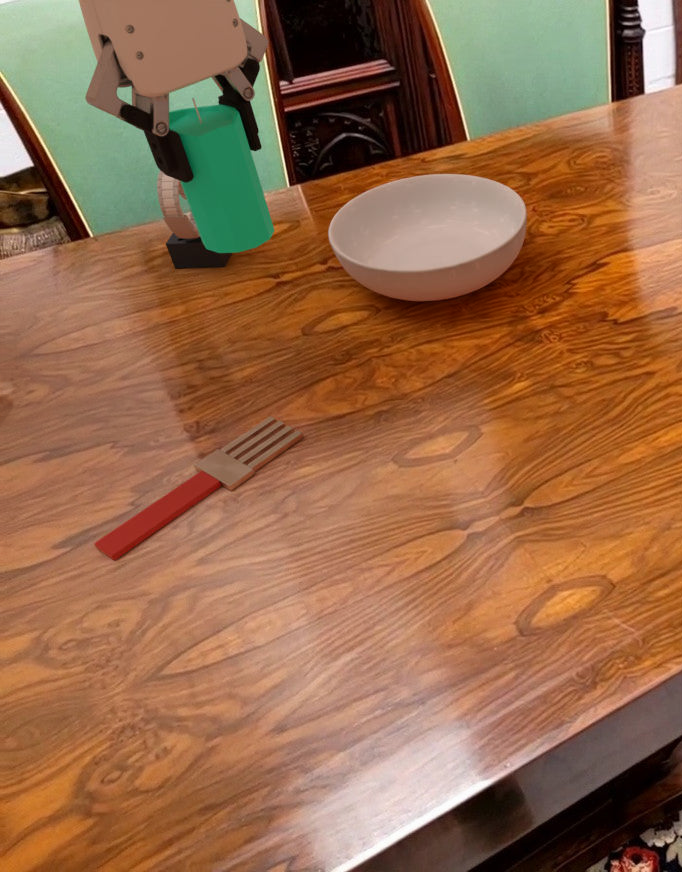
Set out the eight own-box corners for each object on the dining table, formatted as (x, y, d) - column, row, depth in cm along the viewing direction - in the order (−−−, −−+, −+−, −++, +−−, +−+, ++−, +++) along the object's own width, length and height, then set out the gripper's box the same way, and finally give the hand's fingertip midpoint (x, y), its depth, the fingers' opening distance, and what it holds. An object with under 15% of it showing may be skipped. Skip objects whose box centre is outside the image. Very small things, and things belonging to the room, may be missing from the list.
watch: (239, 239, 110) (210, 150, 103) (219, 275, 104) (187, 183, 97) (191, 240, 110) (159, 151, 103) (169, 276, 104) (132, 185, 97)
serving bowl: (322, 254, 107) (307, 199, 103) (493, 212, 114) (487, 159, 110) (370, 348, 93) (355, 289, 89) (562, 293, 100) (557, 236, 96)
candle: (187, 249, 79) (135, 110, 71) (226, 215, 83) (181, 81, 76) (251, 256, 78) (205, 116, 70) (287, 222, 82) (247, 86, 75)
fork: (123, 567, 72) (120, 562, 72) (87, 542, 74) (84, 537, 74) (305, 438, 83) (304, 433, 83) (270, 419, 85) (268, 414, 85)
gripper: (202, -115, 71) (267, 116, 83) (-22, -64, 61) (90, 192, 72) (267, -104, 68) (326, 134, 80) (44, -49, 57) (149, 217, 69)
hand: (213, 159), depth 76 cm, fingers closed on candle, 6 cm apart
